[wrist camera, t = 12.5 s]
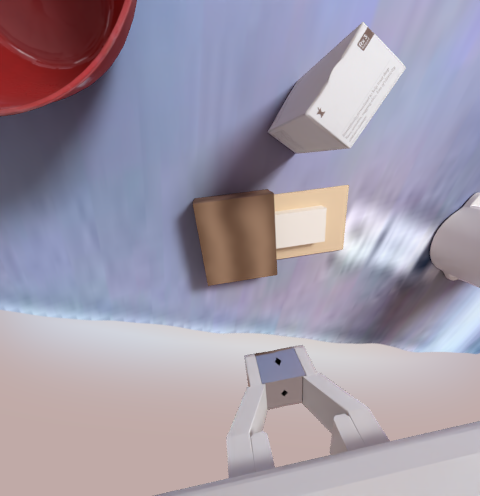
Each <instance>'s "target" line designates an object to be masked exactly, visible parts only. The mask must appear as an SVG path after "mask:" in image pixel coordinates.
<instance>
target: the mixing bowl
mask: <svg viewBox="0 0 480 496" xmlns="http://www.w3.org/2000/svg"><path fill="white" fill-rule="evenodd" d="M136 2H137V0H0V116H7V115H14V114H19V113H23V112H27V111H30V110H33V109H37V108H39V107H42V106H45V105H47V104H49V103H51V102H56V101H59V100H61V99H64V98H67V97H69V96H71V95H73V94H76V93H77V92H79V91H81V90H83V89H85V88H87V87H89V86H90V85H91V84H93V83H94V82H95V81H96V80H97V79H99V78H100V77H101V76H102V75H103V74H104V73H105V72H106V71H107V70H108V69H109V68H110V66H111V65H112V64H113V62H114V61H115V59H116V58H117V56H118V55H119V53H120V51H121V49H122V48H123V46H124V44H125V41H126V38H127V36H128V33H129V30H130V27H131V24H132V21H133V17H134V12H135V8H136Z"/></svg>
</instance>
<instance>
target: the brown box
mask: <svg viewBox="0 0 480 496" xmlns="http://www.w3.org/2000/svg"><path fill="white" fill-rule="evenodd" d="M193 208H194V214H195V219H196V224H197V230H198V235H199V240H200V245H201V251H202V256H203V261H204V267H205V272H206V277H207V283H208V286H210V285H216V284H223V283H229V282H235V281H242V280H248V279H254V278H260V277H267V276H273V275H277V257H276V232H275V207H274V193H272V192H271V191H269V190H268V189H266V190H258V191H250V192H242V193H234V194H227V195H219V196H211V197H203V198H195V199H194V201H193Z"/></svg>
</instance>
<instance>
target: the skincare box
mask: <svg viewBox="0 0 480 496" xmlns="http://www.w3.org/2000/svg"><path fill="white" fill-rule="evenodd" d="M405 68H406V67H405V66H404V65H403V63H402V62H401V61H400V60H399V59H398V58H397V57H396V56H395V55H394V54H393V53H392V52H391V51H390V50H389V49H388V47H387V46H386V45H385V44H384V43H383V42H382V41H381V40H380V39H379V38H378V37H377V36H376V35H375V34H374V33H373V32H372V31H371V30H370V29H369V28H368V27H367V26H366V24H365V23H364V22H362V23H361V24H360V25H359V26H358V27H357V28H356V29H355V30H353V31H352V32H351V33H350V34H349V35H348V36H347V37H346V38H344V39H343V40H342V41H341V42H340V43H339V44H338V45H337V46H336V47H335V48H333V49H332V50H331V51H330V52H329V53H328V54H327V55H326V56H325V57H323V58H322V59H321V60H320V61H319V62H318V63H317V64H316V65H315V66H313V67H312V68H311V69H310V70H309V71H308V72H307V73H306V74H305V75H303V76H302V77H301V78H300V79H299V80H298V81H297V82H296V84H295V86H294V87H293V89H292V91H291V92H290V94H289V96H288V97H287V99H286V101H285V102H284V104H283V106H282V108H281V109H280V111H279V113H278V114H277V116H276V118H275V120H274V122H273V124H272V126H271V127H270V129H269V130H268V133H269V134H271V135H272V136H273V137H275V138H276V139H277V140H279V141H280V142H281V143H283V144H284V145H285V146H287V147H288V148H289V149H291V150H292V151H293V152H295V153H296V154H297V153H307V152H317V151H327V150H337V149H347V148H351V147H352V145H353V144H354V142H355V141H356V140H357V138H358V137H359V135H360V134H361V132H362V131H363V129H364V128H365V127H366V125H367V124H368V122H369V121H370V119H371V118H372V117H373V115H374V114H375V112H376V111H377V109H378V108H379V106H380V105H381V103H382V102H383V101H384V99H385V98H386V96H387V95H388V93H389V92H390V90H391V89H392V87H393V86H394V85H395V83H396V82H397V80H398V79H399V77H400V76H401V74H402V73H403V71H404V70H405Z"/></svg>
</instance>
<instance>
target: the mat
mask: <svg viewBox="0 0 480 496" xmlns="http://www.w3.org/2000/svg"><path fill="white" fill-rule="evenodd" d="M348 189H349V185H344V186H336V187H328V188H321V189H313V190H305V191H298V192H290V193H282V194H275V195H274V207H275V212H276V211H283V210H291V209H298V208H305V207H312V206H320V205H321V206H324V207H326V208H327V210H326V229H325V241H324V242H318V243H311V244H305V245H298V246H291V247H285V248H278V249H276V257H277V259H283V258H290V257H296V256H303V255H309V254H316V253H322V252H329V251H335V250H342V249H343V243H344V232H345V221H346V210H347V200H348Z"/></svg>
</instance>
